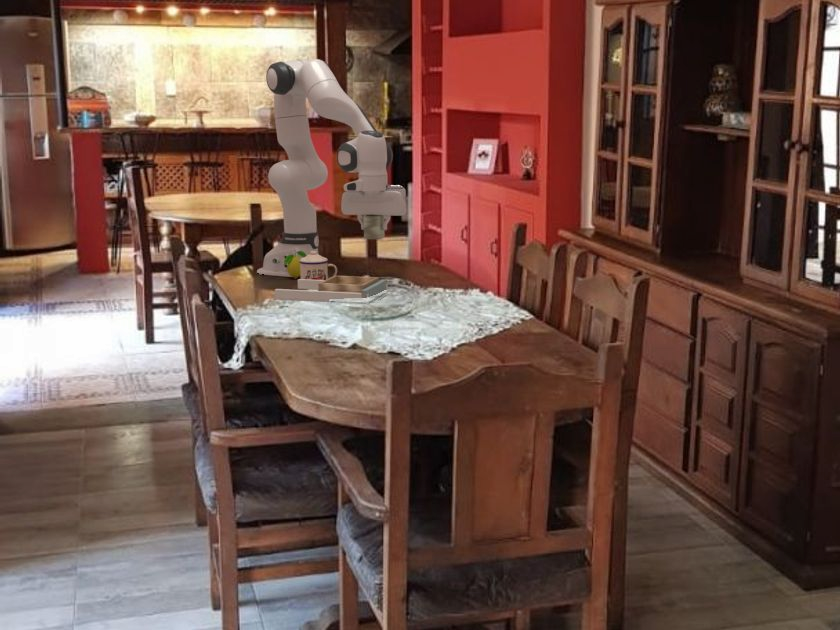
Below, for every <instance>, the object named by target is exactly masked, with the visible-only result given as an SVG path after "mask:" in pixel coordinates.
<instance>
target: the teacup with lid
mask: <svg viewBox="0 0 840 630" xmlns="http://www.w3.org/2000/svg"><path fill="white" fill-rule="evenodd" d="M318 254H319V253H318ZM318 254H317V252H316V251H311V252H310V255H307V256H306V257H304V258H301V259H300V261H299V262H300V274H301V276H300V279H310V280H327V279H329V278H331V277H334V276H337V273H338V267H337V266H336V265H335V264H333V263H328V262H329V260H328V258H327V257H325V256H322V255H320V254H319V255H318ZM329 267H333V268H334V272H333V275H331V276H329V273H328V272H329V271H328V268H329Z"/></svg>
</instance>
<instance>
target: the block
mask: <svg viewBox="0 0 840 630" xmlns="http://www.w3.org/2000/svg"><path fill="white" fill-rule="evenodd" d="M363 221H364V230H363V240H381V239H385V237H386V236H385V235H386V234H385V230H381V224H384V222H385V219H384V215H364V218H363Z"/></svg>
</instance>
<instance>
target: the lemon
mask: <svg viewBox="0 0 840 630" xmlns="http://www.w3.org/2000/svg"><path fill="white" fill-rule="evenodd" d="M294 250H295V249H294ZM295 252H296V251H295ZM296 253H297V254H298V255H300V256H301V257H303V258H304V257H306V256H307V255H306V254H305V253H304V252H303V251H299V252H296ZM296 253H295V256H294V257H293V255H288V256H287V257H286V258H285V260H284V264H287V263H288V264H287V271H288V273H289V275H291V276H293V277H292V278H293V279H295V280H296V279H297V280H298V278H299V277H301V274H300V262H299V261H300V258H298V257H297V256H296Z"/></svg>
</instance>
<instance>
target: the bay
mask: <svg viewBox="0 0 840 630" xmlns="http://www.w3.org/2000/svg"><path fill="white" fill-rule="evenodd" d="M323 281H325V280H310V279H301V278H299V279H298V278H297V289H290V288H289V289H288V288H287V289H284V288H276V289H275V288H274V300H285V301H306V302H325V303H330V302H329V300H330V299H344V298H367V297H370V296H373V295H376V294H378V293H380V292H382V291H384V290H387V289H388V287H389V286H388V279H380V280H379V281H378V282H376V283H375V284H373V285H371V286H369V287H367V288H365V289H363V290H361V293H352V292H331V291H318V283H321V282H323Z"/></svg>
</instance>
